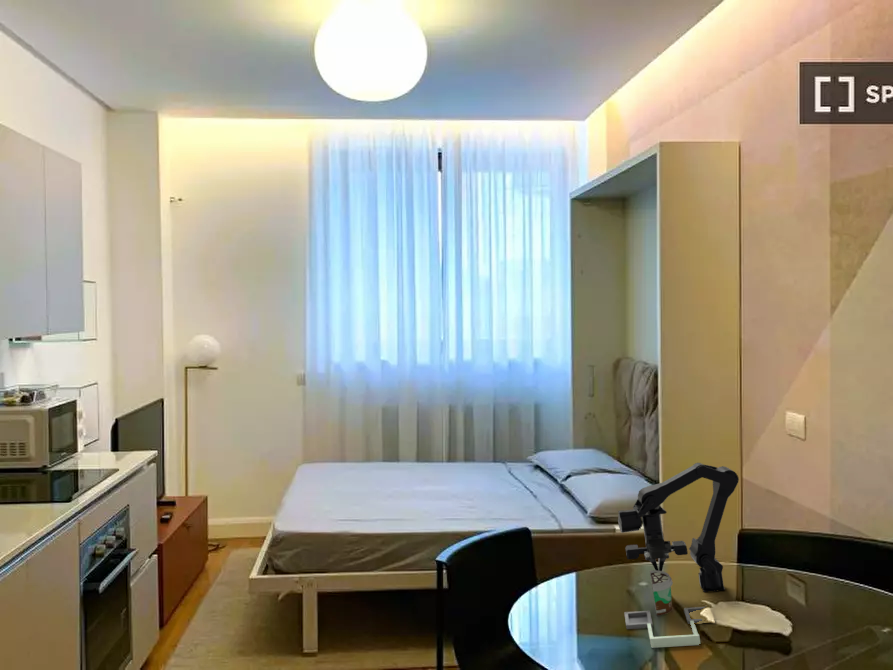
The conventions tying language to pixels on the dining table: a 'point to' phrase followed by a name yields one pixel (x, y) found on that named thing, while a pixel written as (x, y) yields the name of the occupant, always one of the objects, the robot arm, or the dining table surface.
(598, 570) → the dining table surface
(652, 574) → the food container
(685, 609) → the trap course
